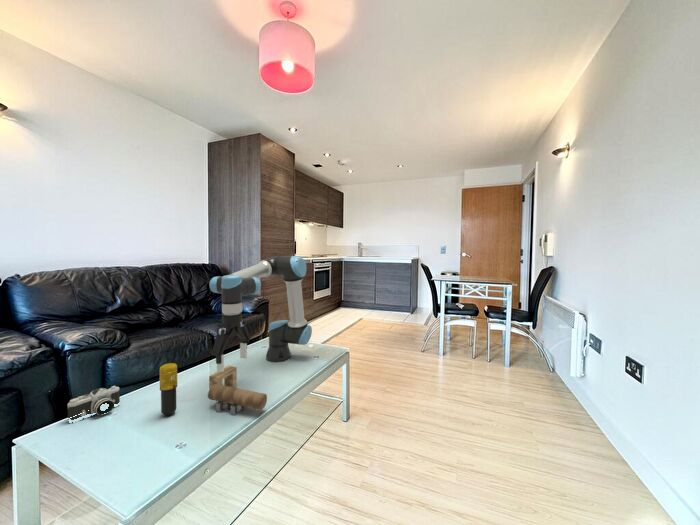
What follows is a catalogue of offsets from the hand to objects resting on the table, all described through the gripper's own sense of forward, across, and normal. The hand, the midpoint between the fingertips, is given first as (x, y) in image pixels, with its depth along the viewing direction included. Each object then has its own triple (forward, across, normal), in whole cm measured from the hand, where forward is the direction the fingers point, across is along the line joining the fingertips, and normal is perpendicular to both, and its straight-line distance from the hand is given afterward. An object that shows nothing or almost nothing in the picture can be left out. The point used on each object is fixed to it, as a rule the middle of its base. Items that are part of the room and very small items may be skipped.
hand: (232, 364), depth 115 cm
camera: (+19, +20, -48) cm, 56 cm away
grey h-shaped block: (+19, +1, 0) cm, 19 cm away
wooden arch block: (+19, -11, -15) cm, 27 cm away
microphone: (+19, +12, -25) cm, 33 cm away
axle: (+16, 0, +2) cm, 16 cm away
